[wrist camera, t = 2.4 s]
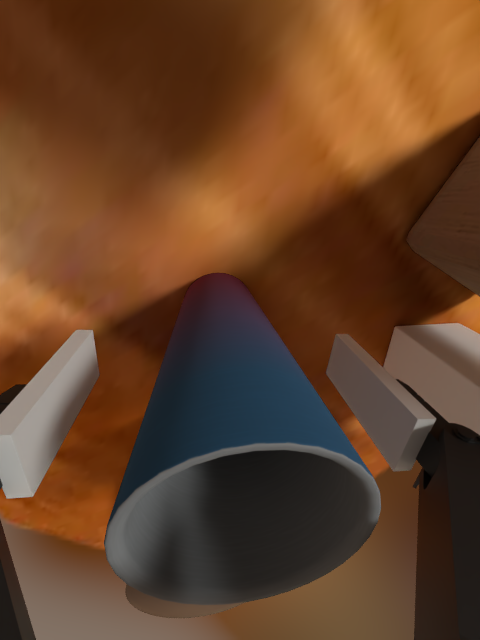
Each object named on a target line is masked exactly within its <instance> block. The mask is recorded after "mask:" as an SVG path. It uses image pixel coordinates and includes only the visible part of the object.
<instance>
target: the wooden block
mask: <svg viewBox="0 0 480 640" xmlns="http://www.w3.org/2000/svg"><path fill="white" fill-rule="evenodd" d="M407 242H408V244H409V245H410V247H411V248H412V250H413V251H414V252H416V253H417V254H418V255H420V256H421V257H423V258H424V259H426V260H427V261H429V262H430V263H432V264H433V265H434V266H436V267H437V268H439V269H440V270H442V271H443V272H445V273H446V274H448V275H449V276H451V277H452V278H453V279H455V280H456V281H458V282H459V283H461V284H462V285H464V286H465V287H467V288H468V289H470V290H471V291H472V292H474V293H475V294H477V295H478V296H480V137H479V138H478V139H477V141H476V142H475V143H474V145H473V146H472V147H471V149H470V150H469V152H468V153H467V154H466V156H465V157H464V158H463V160H462V161H461V162H460V164H459V165H458V166H457V168H456V169H455V170H454V172H453V173H452V175H451V176H450V177H449V179H448V180H447V181H446V183H445V184H444V185H443V187H442V188H441V189H440V191H439V192H438V193H437V195H436V196H435V198H434V199H433V200H432V202H431V203H430V204H429V206H428V207H427V208H426V210H425V211H424V212H423V214H422V215H421V216H420V218H419V219H418V221H417V222H416V223H415V225H414V226H413V227H412V229H411V230H410V231H409V234H408V237H407Z"/></svg>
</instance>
